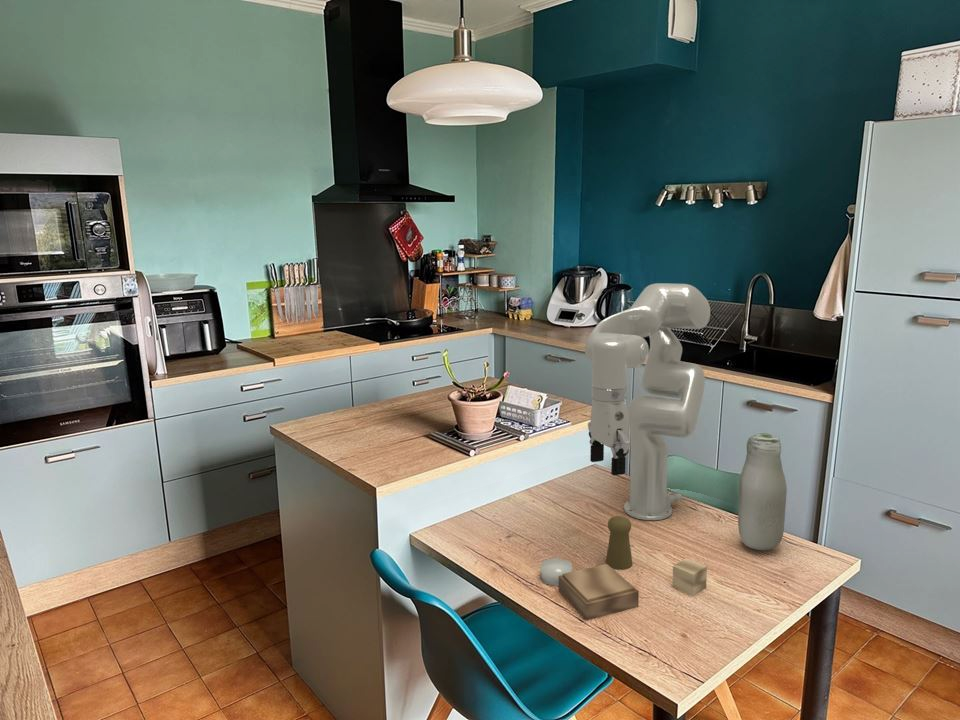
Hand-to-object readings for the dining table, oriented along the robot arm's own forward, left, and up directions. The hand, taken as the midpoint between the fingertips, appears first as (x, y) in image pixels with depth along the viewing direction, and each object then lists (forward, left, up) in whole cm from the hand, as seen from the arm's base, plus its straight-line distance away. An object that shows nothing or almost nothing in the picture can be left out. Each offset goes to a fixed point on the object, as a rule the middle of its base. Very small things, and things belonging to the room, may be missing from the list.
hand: (607, 467), depth 156 cm
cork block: (-9, +18, -22) cm, 30 cm away
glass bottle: (-35, +10, -22) cm, 43 cm away
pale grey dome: (+15, +3, -22) cm, 27 cm away
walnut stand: (+11, +14, -22) cm, 29 cm away
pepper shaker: (-1, +3, -22) cm, 23 cm away
